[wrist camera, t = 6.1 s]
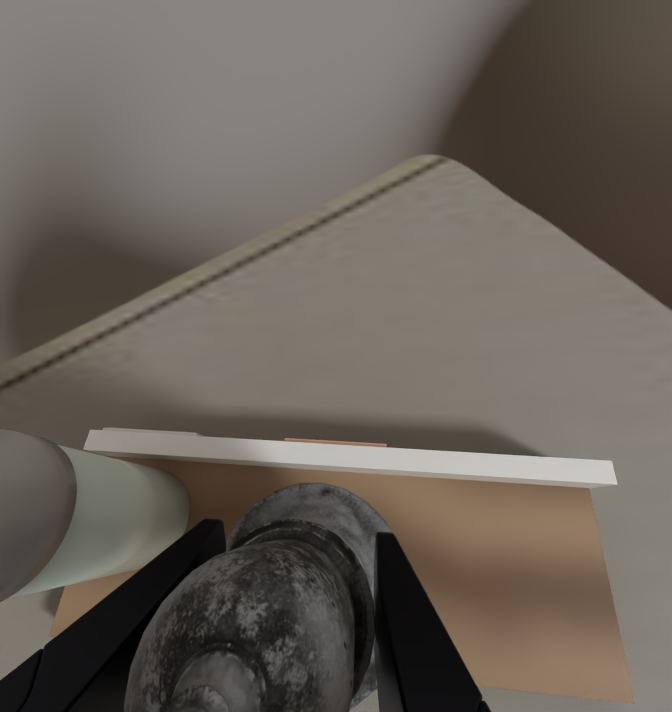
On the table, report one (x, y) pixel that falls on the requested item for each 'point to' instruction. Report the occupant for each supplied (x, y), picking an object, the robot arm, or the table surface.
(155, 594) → the robot arm
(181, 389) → the table surface
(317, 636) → the grey chess piece
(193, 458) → the rail
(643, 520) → the table surface
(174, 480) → the sage ceramic jar
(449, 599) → the shelf board
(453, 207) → the table surface
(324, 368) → the table surface
